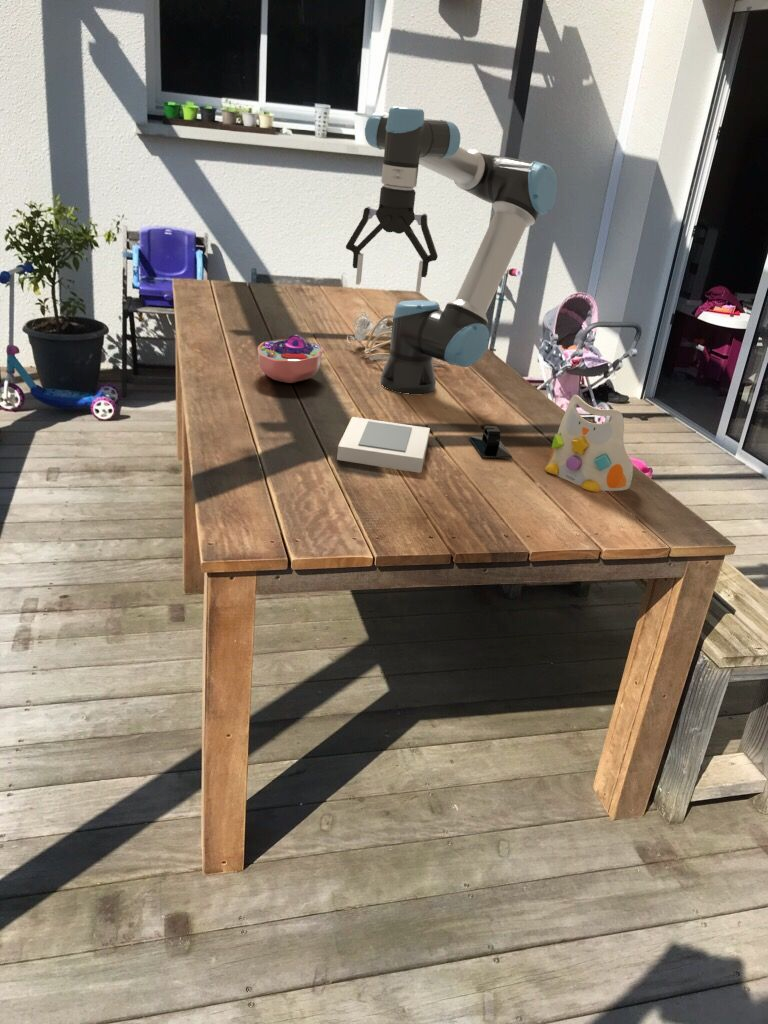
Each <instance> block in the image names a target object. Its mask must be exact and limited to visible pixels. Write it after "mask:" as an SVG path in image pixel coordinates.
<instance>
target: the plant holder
mask: <svg viewBox="0 0 768 1024" xmlns="http://www.w3.org/2000/svg"><path fill="white" fill-rule="evenodd" d="M360 313H362V314H361V315H360V316H359V314H360ZM354 314H355V315H354V316H355V317H354V318H355V319H354V321H353V327H355V328H353V331H354V336H351V335H346V341H347V343H349V344H351V342H350V341H349V340H351V341H352V340H354V341H355V340H357V341H358V342H359V343H360V342H363V341H364V340H365V339H367V341H366V343H365V346H364V347H365V348H364V349H363V350H362V351H361V353H364V354H368V355H365V357H364V359H368V358H369V360H370V361H375V360H383V361H387V360H388V358H389V355H390V351H389V352H387V353H386V352H385V353H384V352H382V353H379V352H378V353H373V354H372V352H374V351H375V350H377V349H378V348H381V347H383V346H386V345H388V344H391V339H389V340H387V341H384V342H380V343H377V344H375V342H376V341H377V340H378V339H379V338H380V337H382V336H383V337H384V336H385V335H386V336H387V337H388V338H391V336H392V325H393V317H394V313H393V314H390V315H386V316H383V317H381V318H379V319H377V321H376V323H375V324H374V323H373V321H371V317H370V315H369V314H368V312H367V311H366V310H364V309H362V311H359V312H355V313H354ZM357 325H358V326H357ZM367 334H368V335H367ZM373 335H374V338H373V340H372V337H373ZM371 340H372V341H371ZM370 341H371V343H370ZM374 344H375V345H374ZM386 363H387V362H385V363H383V365H384V366H385V365H386ZM432 363H433V368H434V367H435V366H440V367H445V366H446V362H443V364H442V362H440V360H439V359H437V358H434V357H433V358H432ZM374 364H376V365H382V363H381V362H373V365H374Z"/></svg>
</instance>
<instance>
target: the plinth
mask: <svg viewBox="0 0 768 1024" xmlns="http://www.w3.org/2000/svg"><path fill="white" fill-rule="evenodd" d="M430 430H431V428H430V427H425V426H420V425H419V426H417V425H412V424H411V425H410V424H404V423H397V422H390V421H383V420H376V419H371V418H363V417H356V416H352V417H351V419H350V420H349V423H348V425H347V427H346V429H345V432H344V433H343V436H342V437H341V439H340V441H339V443H338V446H337V453H336V454H337V455H336V456H337V457H336V460H337V461H342V462H343V461H344V462H348V463H349V462H350V463H354V464H355V463H356V464H362V465H368V466H375V467H381V468H386V469H393V470H400V471H404V472H405V471H406V472H412V473H418V474H419V473H420V474H422V470H423V466H424V462H425V459H426V453H427V449H428V443H429V436H430V432H431V431H430Z"/></svg>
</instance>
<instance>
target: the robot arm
mask: <svg viewBox="0 0 768 1024" xmlns="http://www.w3.org/2000/svg"><path fill="white" fill-rule="evenodd" d="M364 136H365V139H366V142H367V143H368V145H369V146H371V147H373V148H375V149H378V150H383V151H384V153H383V162H382V169H381V170H382V171H381V180H380V181H381V184H382V185H383V186H381V187H380V193H379V202H378V203H379V204H378V208H377V209H375V208H371V206H366V207H365V208H364V209H363V213H362V218H361V220H360V221H359V223H358V225H357V227H356V228H355V230H354V231H353V233H352V234H351V237H350V238H349V240H348V242H347V244H346V245H345V249H346V250H348V251H351V252H352V253H353V256H352V257H353V258H352V267H353V269H356V276H355V277H356V280H355V285H360V284H361V282H362V275H363V274H362V273H363V264H364V263H363V261H364V252H361V251H362V249H364V248H365V247H366V246H367V245H368V244H369V243H370V242H371V241H372V240H373V239H374V238H375V237H376V236H377V235H378V234H379V233H380V232H381V231H382V230H383V231H385V232H386V233H395V234H398V235H399V234H402V233H404V234H405V236H406V237H407V238H408V240H409V241H410V243H411V244H412V246H413V248H414V249H415V250H416V252H417V254H418V256H419V257H420V258H421V259H420V261H419V264H418V271H417V279H416V287H415V293H421V288H422V287H421V286H422V279H423V278H426V277H427V276H428V270H429V263H430V262H435V261H437V259H438V253H437V249H436V246H435V243H434V241H433V238H432V234H431V232H430V228H429V226H428V215H427V214H426V213H423V214H415V212H414V211H415V210H414V209H415V201H416V190H415V189H414V188H417V183H418V175H419V167H420V166H422V167H424V168H426V169H428V170H430V171H433V173H437V174H438V175H441V176H443V177H445V178H448V179H449V180H452V181H454V184H455V185H456V187H458V188H459V189H460V190H463V191H466V192H467V193H469V194H471V195H473V196H475V197H476V198H478V199H480V200H483V201H485V202H487V203H489V204H492V208H493V212H494V215H493V218H492V219H491V221H490V223H489V226H488V228H487V231H486V232H485V235H484V237H483V239H482V241H481V243H480V245H479V247H478V250H477V252H476V254H475V256H474V259H473V260H472V263H471V265H470V266H469V268H468V270H467V274H466V275H465V278H464V280H463V282H462V284H461V287H460V289H459V291H458V293H457V295H456V296H455V299H454V300H452V301H449V302H447V303H446V305H445V307H444V309H443V311H440V310H441V307H440V304H439V302H437V301H434V300H433V301H432V300H425V299H421V300H420V299H416V300H415V299H414V300H403V301H399V302H398V303H397V304H396V305H395V307H394V313H393V314H394V317H393V321H392V322H393V325H392V336H391V337H390V340H391V343H390V347H389V352H390V353H389V354H390V355H389V358H388V360H386V362H385V363H386V365H385V364H384V367H383V370H382V372H381V374H380V380H379V381H380V382H379V383H381V384H380V385H381V386H382V385H383V386H384V387H383V386H382V387H383V388H385V387H386V388H388V389H387V390H389V389H390V390H389V391H391V390H393V391H392V392H394V391H396V392H395V393H398V392H401V393H400V394H403V393H409V394H408V395H411V394H422V395H427V394H431V393H433V392H434V391H435V389H436V383H437V381H436V380H437V379H436V375H435V369H434V365H433V364H434V363H433V360H432V358H433V357H434V358H437V359H439V360H438V361H441V362H444V363H447V364H449V365H450V366H458V367H461V368H466V367H470V366H472V365H474V364H476V363H478V362H479V360H480V359H481V358H483V356H484V354H485V353H486V350H487V348H488V346H489V343H490V340H489V338H490V331H489V328H488V327H487V326H488V324H489V321H488V320H489V319H488V318H487V317H488V316H487V313H488V309H489V308H490V305H491V304H492V301H493V299H494V296H495V294H496V293H497V290H498V288H499V286H500V285H501V281H502V280H503V277H504V275H505V273H506V271H507V269H508V267H509V264H510V262H511V260H512V257H513V256H514V254H515V252H516V249H517V248H518V244H519V242H520V241H521V238H522V236H523V234H524V232H525V230H526V228H528V227H530V226H533V225H535V223H536V220H537V219H538V217H539V215H540V216H543V215H546V214H547V213H549V212H550V211H551V210H552V208H553V207H554V205H555V202H556V198H557V194H558V193H557V192H558V181H557V180H558V179H557V176H556V172H555V171H554V169H553V168H552V167H551V166H550V165H549V164H546V163H543V162H539V161H537V160H526V159H520V158H513V157H508V156H503V155H493V154H488V153H482V152H480V151H478V150H476V149H468V150H466V149H464V148H462V147H460V144H461V133H460V129H459V128H458V126H457V125H456V124H455V123H454V122H452V121H448V120H446V119H444V120H443V119H439V120H438V119H432V118H431V119H430V118H425V112H424V110H423V109H422V108H416V107H415V108H414V107H407V106H398V105H394V106H393V105H392V107H390V108H389V110H388V112H387V111H385V112H380V111H378V112H377V111H376V112H374V113H372V114H371V115H370V116H369V117H368V119H367V120H366V124H365V128H364ZM419 165H420V166H419ZM374 216H376V218H377V221H378V222H379V224H378V225H376V227H374V228H373V230H372V231H371V232H370V233H369V234H367V235H366V236H365V238H364V239H363V240H361V242H360V243H359V244H358V245H356V244H355V243H356V242H357V240H358V239H359V237H360V235H361V234H362V232H363V230H364V229H365V226H366V225H367V223H368V221H369V220H371V219H372V218H373V217H374ZM414 221H416V222H417V225H419V226H420V229H421V232H422V235H423V239H424V240H425V244H426V247H427V249H428V253H429V254H428V253H427V252H426V249H425V248H424V247H423V244H421V242H420V241H419V239H418V237H417V235H416V234H415V232H414V230H413V228H412V227H411V225H412V224H413V222H414ZM386 388H385V389H386Z"/></svg>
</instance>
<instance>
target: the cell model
mask: <svg viewBox="0 0 768 1024" xmlns="http://www.w3.org/2000/svg"><path fill="white" fill-rule="evenodd" d="M305 339H306V338H304V337H303V336H302V335H299V334H292V335H290V336H288V337H287V339H285V338H283V339H282V338H279V339H274V340H267V341H263V342H261V343H260V344H259V345H258V347H257V357H258V366H259V369H260V370H261V371H262V372H263V373H264V374H265V376H267V377H269V378H270V379H271V380H273V381H276V382H282V383H285V384H286V383H287V384H295V383H297V382H298V383H299V382H302V381H305V380H309V379H311V378H312V377H314V375H315V374H316V373H318V371H319V369H320V365H321V361H322V357H323V352H324V348H323V346H321V345H319V344H317V343H314V342H308V341H306V340H305Z"/></svg>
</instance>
